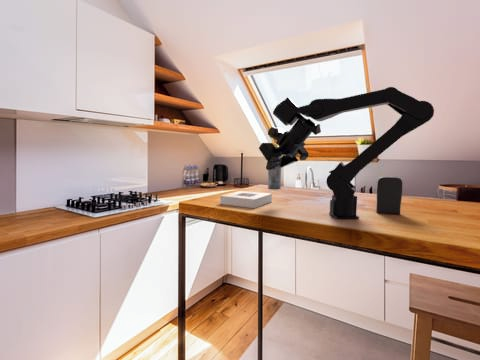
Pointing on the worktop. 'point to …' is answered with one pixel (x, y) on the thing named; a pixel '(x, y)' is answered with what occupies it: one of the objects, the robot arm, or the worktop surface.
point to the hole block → (246, 199)
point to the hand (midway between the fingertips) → (271, 168)
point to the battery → (389, 195)
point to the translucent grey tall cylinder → (274, 177)
